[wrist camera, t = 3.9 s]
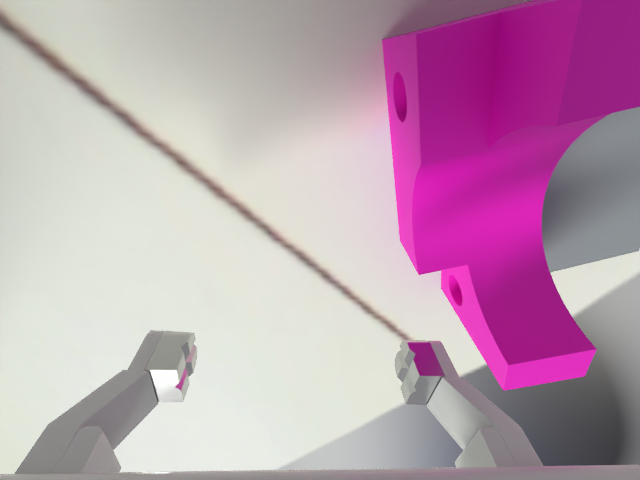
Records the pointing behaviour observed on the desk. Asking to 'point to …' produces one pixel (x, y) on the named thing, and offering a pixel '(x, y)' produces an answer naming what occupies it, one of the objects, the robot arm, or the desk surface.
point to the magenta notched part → (503, 162)
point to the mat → (595, 195)
